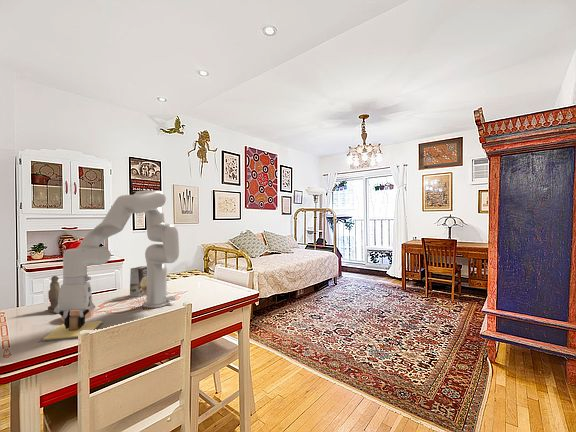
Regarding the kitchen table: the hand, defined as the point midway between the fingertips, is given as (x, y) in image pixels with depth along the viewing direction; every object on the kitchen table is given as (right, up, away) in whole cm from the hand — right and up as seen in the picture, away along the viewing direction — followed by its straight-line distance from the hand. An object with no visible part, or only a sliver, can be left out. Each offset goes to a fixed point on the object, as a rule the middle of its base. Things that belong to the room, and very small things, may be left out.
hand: (74, 326), depth 109 cm
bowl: (-11, -2, +16) cm, 19 cm away
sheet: (0, -2, 0) cm, 2 cm away
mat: (0, -2, 0) cm, 2 cm away
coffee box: (-4, -3, +55) cm, 55 cm away
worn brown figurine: (-28, -3, +25) cm, 38 cm away
